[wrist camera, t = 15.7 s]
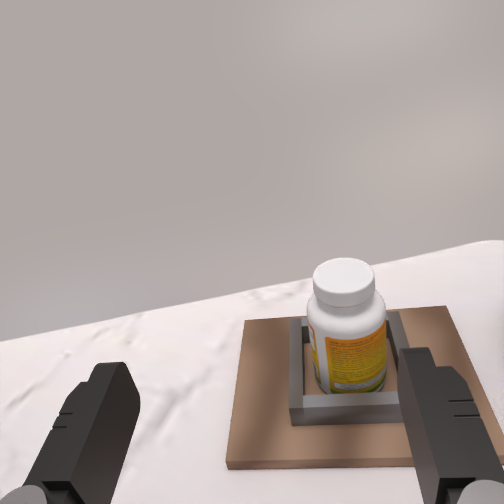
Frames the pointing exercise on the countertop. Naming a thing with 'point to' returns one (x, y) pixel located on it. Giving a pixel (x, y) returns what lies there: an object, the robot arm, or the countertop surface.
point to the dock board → (334, 397)
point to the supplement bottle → (347, 328)
